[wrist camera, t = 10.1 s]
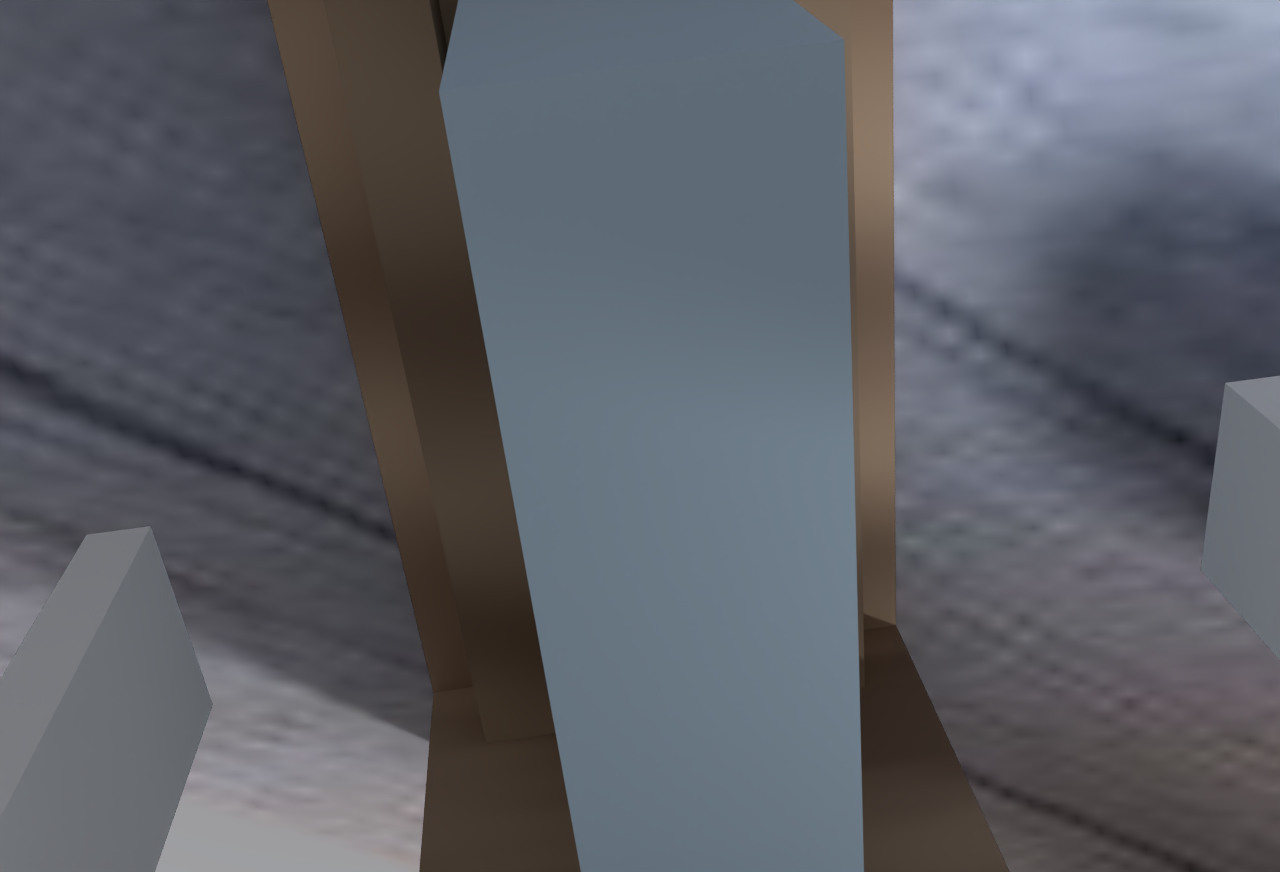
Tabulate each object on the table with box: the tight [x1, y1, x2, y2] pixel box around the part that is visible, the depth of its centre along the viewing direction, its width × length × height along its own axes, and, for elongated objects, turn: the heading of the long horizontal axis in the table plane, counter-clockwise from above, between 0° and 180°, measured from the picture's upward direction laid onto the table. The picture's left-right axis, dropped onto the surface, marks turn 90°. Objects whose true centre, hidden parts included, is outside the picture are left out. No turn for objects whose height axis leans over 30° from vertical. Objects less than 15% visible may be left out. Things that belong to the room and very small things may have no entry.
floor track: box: [267, 0, 1009, 872], centre depth 17 cm, size 22×10×14 cm, turn 6°
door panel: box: [439, 0, 864, 872], centre depth 18 cm, size 12×4×10 cm, turn 6°
